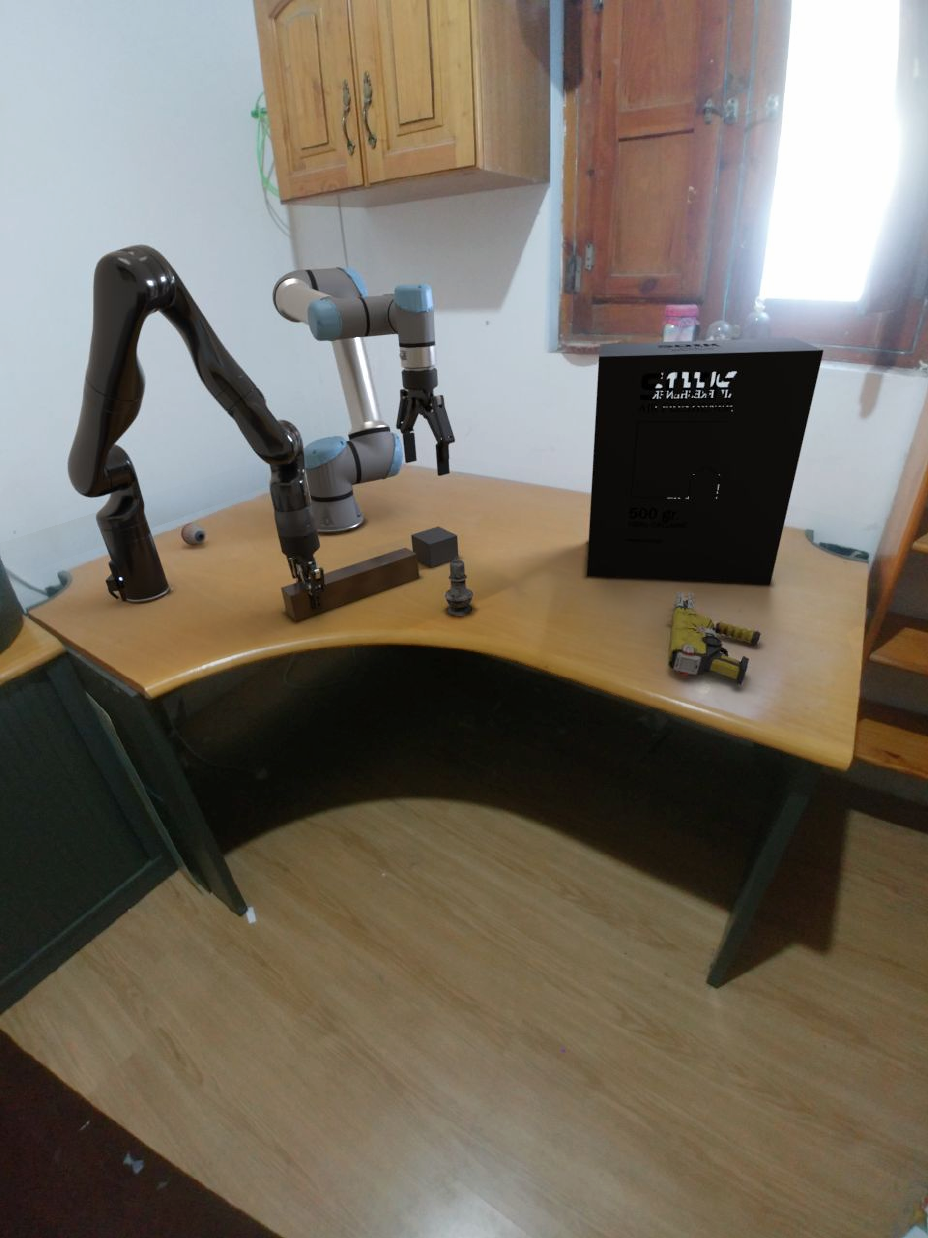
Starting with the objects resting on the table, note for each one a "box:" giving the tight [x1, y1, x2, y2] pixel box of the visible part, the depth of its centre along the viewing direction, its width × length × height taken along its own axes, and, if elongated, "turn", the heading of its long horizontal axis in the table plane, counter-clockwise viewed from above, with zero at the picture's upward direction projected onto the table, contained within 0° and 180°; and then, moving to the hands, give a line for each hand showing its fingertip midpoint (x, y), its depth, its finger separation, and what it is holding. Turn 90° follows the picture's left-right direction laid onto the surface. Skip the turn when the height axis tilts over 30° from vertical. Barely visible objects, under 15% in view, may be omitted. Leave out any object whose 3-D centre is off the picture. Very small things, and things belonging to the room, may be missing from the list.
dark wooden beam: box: [280, 547, 420, 623], centre depth 130 cm, size 30×5×6 cm, turn 126°
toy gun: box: [667, 591, 761, 686], centre depth 106 cm, size 5×24×15 cm
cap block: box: [410, 525, 460, 569], centre depth 145 cm, size 8×8×6 cm
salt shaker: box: [444, 556, 474, 617], centre depth 120 cm, size 6×6×12 cm
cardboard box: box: [586, 337, 824, 586], centre depth 127 cm, size 38×20×45 cm, turn 78°
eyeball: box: [180, 522, 207, 547], centre depth 160 cm, size 6×6×6 cm
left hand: (312, 603), depth 126 cm, fingers closed on dark wooden beam, 5 cm apart
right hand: (426, 467), depth 137 cm, fingers open, 13 cm apart
